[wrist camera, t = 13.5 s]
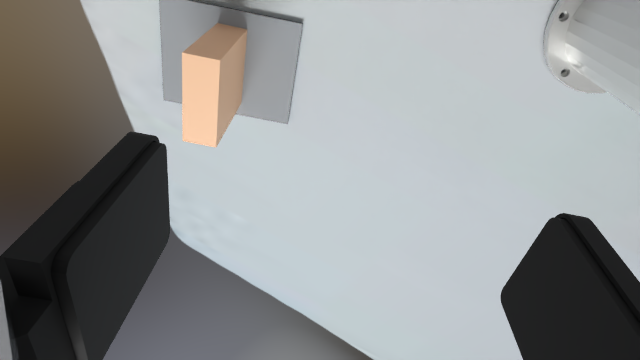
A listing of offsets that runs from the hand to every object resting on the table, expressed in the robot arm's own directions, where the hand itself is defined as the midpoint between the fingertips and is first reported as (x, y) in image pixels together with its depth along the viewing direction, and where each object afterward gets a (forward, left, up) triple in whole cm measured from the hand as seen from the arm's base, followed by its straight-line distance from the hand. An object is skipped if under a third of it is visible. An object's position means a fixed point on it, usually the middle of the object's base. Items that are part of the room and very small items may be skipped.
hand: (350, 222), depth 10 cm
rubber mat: (+11, +9, -33) cm, 36 cm away
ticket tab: (+11, +9, -33) cm, 36 cm away
